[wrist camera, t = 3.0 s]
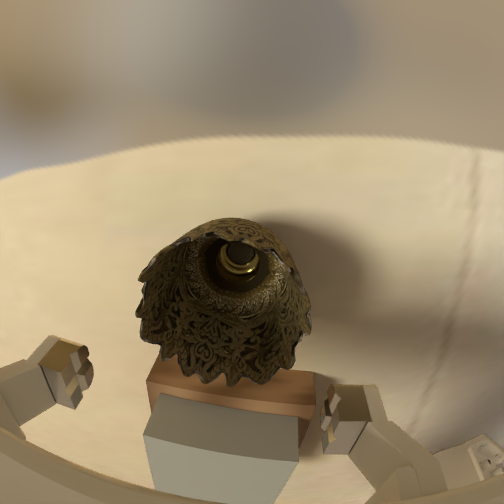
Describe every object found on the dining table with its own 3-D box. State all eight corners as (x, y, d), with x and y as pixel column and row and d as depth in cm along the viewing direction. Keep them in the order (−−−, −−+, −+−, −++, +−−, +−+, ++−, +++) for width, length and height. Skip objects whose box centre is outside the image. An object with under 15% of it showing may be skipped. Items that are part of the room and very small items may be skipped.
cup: (202, 175, 18) (151, 208, 11) (319, 218, 19) (344, 278, 11) (171, 280, 21) (124, 355, 14) (274, 317, 22) (269, 405, 14)
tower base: (312, 368, 24) (316, 405, 20) (286, 447, 28) (285, 479, 24) (162, 347, 24) (146, 380, 20) (171, 431, 29) (161, 460, 25)
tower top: (297, 416, 20) (298, 461, 17) (271, 475, 24) (269, 510, 21) (159, 392, 21) (142, 434, 17) (165, 457, 24) (155, 490, 21)
